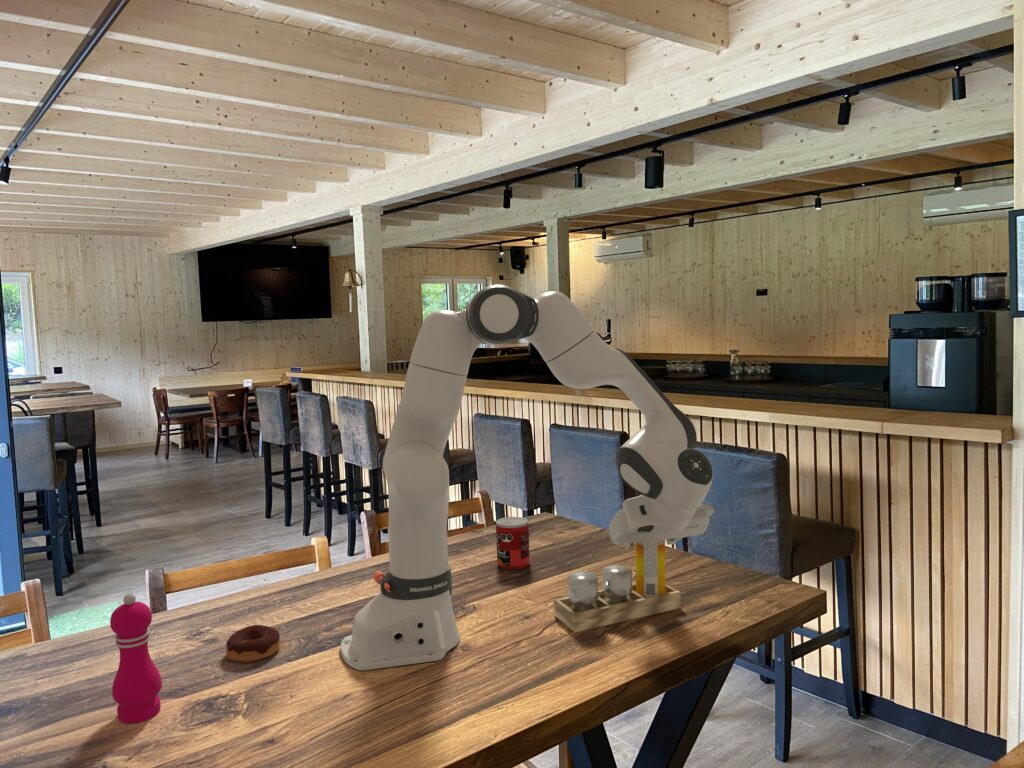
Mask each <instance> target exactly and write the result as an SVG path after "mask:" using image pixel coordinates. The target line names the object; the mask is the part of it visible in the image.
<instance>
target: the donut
mask: <svg viewBox="0 0 1024 768" xmlns="http://www.w3.org/2000/svg"><path fill="white" fill-rule="evenodd" d="M280 637H281V633H280V632H279V631H278V630H277V629H276V627H270V626H267V625H263V624H262V625H261V624H255V625H253V624H252V625H249V626H246V627H243V628H241V629H239V630H236V631H235V632H234V633H232V635H230V636H229V638H228V639H227V641H226V646H225V647H226V651H225V654H226V658H228V659H229V660H230V661H233V662H239V663H253V662H258V661H261V660H263V659H266V658H268V657H270V656H272V655H274V654H275V653H276V652H278V650H279V648H280V647H281V640H280V639H281V638H280Z"/></svg>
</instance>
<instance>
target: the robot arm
mask: <svg viewBox="0 0 1024 768" xmlns="http://www.w3.org/2000/svg"><path fill="white" fill-rule="evenodd" d="M522 339H525V340H527V342H530V344H531V345H532V346H534V348H535V349H536V350H537V351H538V353H539V354H540V356H541V358H542V360H543V361H544V362H545V364H546V365H547V367H548V368H549V370H550V372H551V373H552V374H553V376H554V377H555V378H556V379H557V380H558V381H559V382H560V384H562V385H563V386H566V387H568V388H571V389H576V390H587V389H593V388H596V387H597V388H598V387H600V386H614V387H617V388H618V389H619V390H621V391H622V392H623V393H624V394H625V395H626V396H627V398H629V400H631V402H632V403H633V404H634V406H635V407H636V408H638V410H639V411H640V412H641V413H642V414H643V416H644V418H645V424H644V425H643V426H642V427H641V428H640V429H639V430H638V431H637V432H635V434H633V435H632V436H631V437H629V438H628V440H627V441H625V442H624V443H623V444H622V445H621V446H620V447H619V448H618V449H617V450H616V452H615V456H614V457H615V458H614V461H615V465H616V470H617V472H618V475H619V477H620V479H621V480H622V481H623V483H625V485H626V486H628V487H629V488H630V489H631V490H633V491H635V492H636V493H638V494H640V495H638V496H634V497H631V498H627V499H625V500H623V502H622V508H621V509H620V510H619V511H618V512H617V513H616V514H615V515H614V517H613V518H612V520H611V522H610V524H609V525H608V534H609V538H610V541H611V542H612V543H613V544H614V545H623V547H624V549H625V550H626V551H627V550H633V549H634V548H635V542H644V541H653V540H662V539H665V542H666V544H667V546H669V545H675V544H676V543H677V541H680V540H682V539H683V538H687V537H688V538H689V537H695V536H696V537H697V536H701V535H703V534H704V533H705V532H706V530H707V528H708V526H709V524H710V520H711V519H710V517H711V516H712V515H713V513H714V512H715V508H714V506H711V505H709V504H702V503H703V501H704V500H705V499H706V497H707V495H708V494H709V491H710V488H711V487H712V482H713V479H714V469H713V464H712V463H711V460H710V459H709V457H708V456H707V455H706V454H704V453H703V452H702V451H700V450H698V449H695V448H696V446H697V441H698V439H697V438H698V437H697V431H696V428H695V425H694V422H693V421H692V419H690V418H689V416H687V415H686V413H684V412H683V411H682V410H680V409H679V408H678V407H677V406H676V405H674V404H673V403H672V402H671V401H670V399H669V398H668V397H667V396H666V395H665V394H664V393H663V392H662V390H661V389H660V388H659V387H658V385H656V384H655V382H654V381H653V380H652V379H651V378H650V377H649V375H648V374H647V373H646V372H645V371H644V370H643V368H642V367H641V366H640V365H639V364H638V363H637V362H636V361H635V360H634V359H633V358H632V357H631V356H630V355H629V354H628V353H627V352H625V351H624V350H622V349H620V348H618V347H613V346H611V345H609V344H608V343H606V342H605V341H604V340H603V339H602V338H601V336H600V335H599V334H598V333H597V331H596V330H595V329H594V327H593V326H592V324H591V323H590V321H589V320H588V319H587V318H586V316H585V315H584V314H583V313H582V311H581V310H580V309H579V308H578V306H576V305H575V303H574V302H573V301H572V300H571V299H570V298H569V297H568V296H567V295H565V293H563V292H561V291H556V290H554V291H547V292H543V293H541V294H539V295H537V296H536V297H534V298H533V297H532V296H529V295H527V294H525V293H523V292H522V291H519V290H518V289H515V288H513V287H511V286H509V285H506V284H505V285H504V284H492V285H488V286H485V287H483V288H482V289H480V290H479V291H477V292H476V293H475V294H474V295H473V297H472V298H471V299H470V301H469V303H468V304H467V305H466V306H465V308H463V310H460V311H454V310H449V309H441V310H436V311H433V312H431V313H429V314H428V315H427V316H426V317H425V319H424V321H423V322H422V324H421V326H420V329H419V331H418V334H417V337H416V340H415V342H414V345H413V349H412V352H411V356H410V359H409V363H408V367H407V372H406V376H405V381H404V385H403V388H402V393H401V397H400V402H399V405H398V408H397V411H396V415H395V417H394V420H393V423H392V427H391V430H390V434H389V436H388V440H387V444H386V447H385V451H384V454H383V458H382V470H383V473H384V475H385V478H386V483H387V488H388V489H387V490H388V529H387V534H388V536H387V537H388V551H389V552H388V554H389V570H388V572H386V574H384V573H383V572H382V571H380V570H378V571H375V572H374V574H373V577H372V579H373V581H375V583H376V584H379V587H380V592H379V593H377V594H376V596H374V597H373V599H371V600H370V601H369V602H368V603H366V604H365V605H364V607H362V608H361V609H360V610H359V611H358V612H357V613H356V614H355V617H354V618H353V621H352V623H353V624H352V630H351V634H349V635H347V636H345V637H344V638H343V639H342V641H341V642H340V655H341V658H342V659H343V660H344V662H345V663H346V664H347V666H349V667H351V668H352V669H355V670H358V671H369V670H371V671H372V670H377V669H384V668H391V667H392V668H393V667H399V666H406V665H407V666H408V665H414V664H421V663H422V664H423V663H429V662H434V661H440V660H442V659H444V658H445V656H446V654H447V653H448V652H449V651H450V650H451V649H453V648H454V647H456V646H457V645H458V643H459V642H460V639H461V636H460V633H459V630H458V627H457V623H456V619H455V614H454V610H453V604H452V594H453V592H452V591H453V575H452V569H451V566H450V565H449V547H448V545H449V544H448V517H449V515H448V514H449V505H450V504H449V498H450V496H449V495H450V469H449V466H448V463H447V462H446V459H445V458H444V452H445V448H446V445H447V444H448V440H449V437H450V434H451V431H452V429H453V427H454V424H455V422H456V420H457V419H458V417H459V412H460V408H461V403H462V400H463V395H464V391H465V386H466V383H467V378H468V373H469V369H470V365H471V361H472V357H473V355H474V353H475V351H476V350H477V349H478V347H479V346H481V345H491V346H503V345H506V344H509V343H512V342H516V341H520V340H522Z"/></svg>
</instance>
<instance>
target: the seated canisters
mask: <svg viewBox="0 0 1024 768" xmlns="http://www.w3.org/2000/svg"><path fill="white" fill-rule="evenodd" d="M632 583H633V569H632V568H631V567H630V566H627V565H623V564H609V565H606V566H604V567H603V568H602V590H603V600H605V601H606V602H608V603H609V604H611V605H615V604H619V603H624V602H628V601H632ZM567 588H568V589H567V590H568V592H567V593H568V596H567V597H569V608H571V609H572V610H573V611H575V612H576V613H578V612H583V611H587V610H592V609H596V608H599V600H598V590H599V575H598V574H597V573H595V572H593V571H585V570H581V571H574V572H572V573H570V574H568V575H567Z"/></svg>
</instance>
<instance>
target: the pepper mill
mask: <svg viewBox="0 0 1024 768" xmlns="http://www.w3.org/2000/svg"><path fill="white" fill-rule="evenodd" d="M136 598H137V597H136V596H135V594H133V593H128V594H126V595H124V597H123V601H122V603H123V604H121V605H119V606H117V607H116V608H115V609H114V610H113V611H112V613H111V616H110V620H109V624H110V629H111V631H112V632H113V633H115V634H116V635H115V637H114V640H115V646H116V647H117V648H118V650H119V663H118V664H119V665H118V668H117V672H116V674H115V677H114V679H113V682H112V687H111V689H112V690H111V693H112V694H111V696H112V699H113V701H115V703H117V704H118V706H117V707H116V711H117V720H118V721H119V722H120V723H123V724H137V723H141V722H145V721H147V720H150V719H151V718H153V717H155V716H157V714H158V713H160V711H161V707H162V706H161V698H160V696H159V694H160V691H161V689H162V687H163V682H162V676H161V673H160V672H159V669H158V667H157V666H156V665H155V663H154V661H153V659H152V658H151V655H150V652H149V640H150V639H151V635H150V633H151V631H150V629H149V626H151V623H152V621H153V613H152V610H151V608H150V607H149V606H148V605H147V604H146V603H144V602H141V601H136V600H137V599H136Z"/></svg>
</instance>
